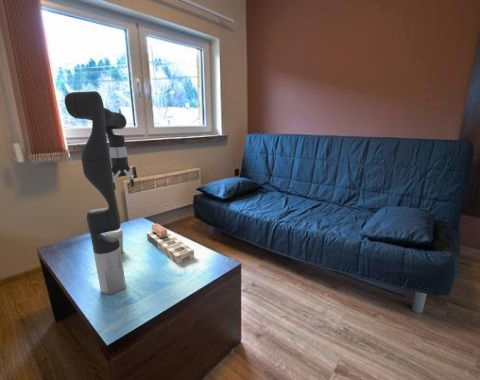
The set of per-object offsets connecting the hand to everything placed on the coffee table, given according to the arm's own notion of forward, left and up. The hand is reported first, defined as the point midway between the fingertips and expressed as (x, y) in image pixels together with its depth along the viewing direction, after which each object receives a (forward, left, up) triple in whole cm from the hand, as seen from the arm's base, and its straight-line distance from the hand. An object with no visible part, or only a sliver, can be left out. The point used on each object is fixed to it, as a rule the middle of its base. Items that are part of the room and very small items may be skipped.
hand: (123, 188), depth 131 cm
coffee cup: (-2, +8, -32) cm, 33 cm away
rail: (-16, -14, -32) cm, 39 cm away
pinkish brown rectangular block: (-6, -14, -32) cm, 35 cm away
